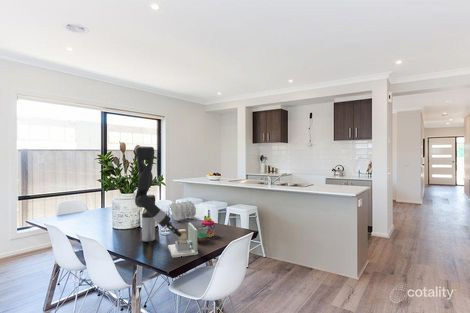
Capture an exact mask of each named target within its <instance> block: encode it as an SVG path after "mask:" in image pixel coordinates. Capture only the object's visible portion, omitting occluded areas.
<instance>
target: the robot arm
mask: <svg viewBox="0 0 470 313" xmlns="http://www.w3.org/2000/svg"><path fill="white" fill-rule="evenodd" d="M136 160H137V161H136V162H137V166H138V167H137V168H138V171H137V172H138V181H137V191H136V193H135V199H134V203H135V205H136V207H138V208H142V209H143V208H144V209H145V210H146V211H144V212H142V213H141V241H142V242H152V241H154V240H156V223H157V224H159V226H160V227H162V228H164V227H166V228H167V229H168V230H169V231H171V232H172V233H173V234H175V235H176V236H177V237H178V236H179V237H180V236H181V235H182V234H181V233H180V232H179V231H178V230H179V229H178V228H177V227H176V226H175V224H174V223H173V222H172V221H171V217H170V216H169V215H168V214H167V213H166V212H165V211H164V210H162V209H161V208H160V207H159V206H158V205H156V195H154V194H148V192H149V190H150V188H151V186H152V185H153V181H154V179H153V178H154V177H153V172H152V170H153V166H154V160H155V148H154V147H153V146H149V145H148V146H145V145H144V146H143V145H140V146H138V147H137V148H136ZM145 161H147V165H146V164H145Z"/></svg>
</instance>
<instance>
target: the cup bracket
mask: <svg viewBox="0 0 470 313" xmlns="http://www.w3.org/2000/svg"><path fill="white" fill-rule="evenodd" d="M187 226H188V227H187V229H188V230H187V232H188V234H187V235H188V236H187V244H178V240H175V242H174V243H173V244H169V245H167V249H168V251H169V253H170V255H171V257H172V258H179V257H181V256H182V257H187V256H194V255H199V252H198V242H197V228H196V226H194V225H193V223H191V222H188V225H187ZM182 257H181V258H182Z"/></svg>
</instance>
